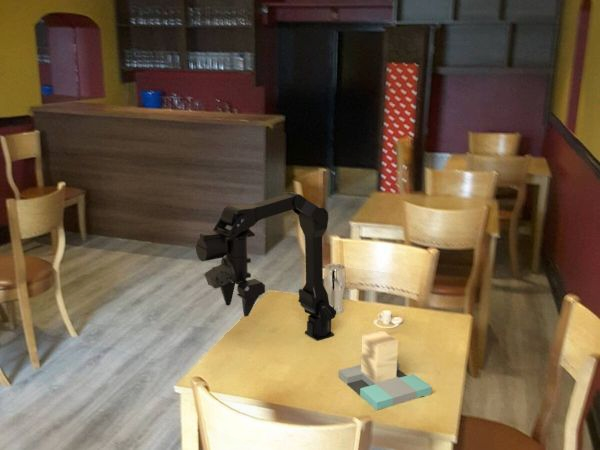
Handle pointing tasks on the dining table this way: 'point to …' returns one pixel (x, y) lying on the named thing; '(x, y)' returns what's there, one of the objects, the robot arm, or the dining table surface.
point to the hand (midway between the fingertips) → (237, 310)
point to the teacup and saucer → (388, 319)
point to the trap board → (379, 383)
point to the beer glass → (335, 285)
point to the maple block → (379, 356)
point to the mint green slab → (383, 400)
